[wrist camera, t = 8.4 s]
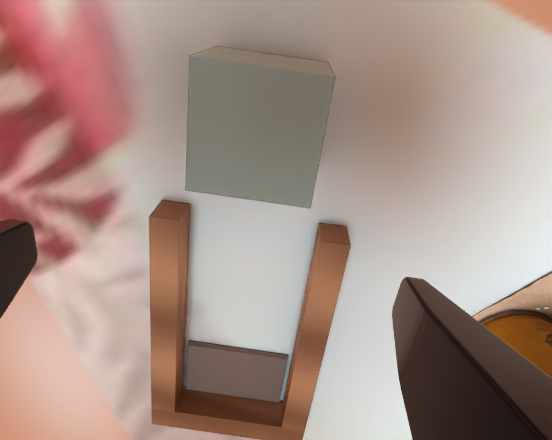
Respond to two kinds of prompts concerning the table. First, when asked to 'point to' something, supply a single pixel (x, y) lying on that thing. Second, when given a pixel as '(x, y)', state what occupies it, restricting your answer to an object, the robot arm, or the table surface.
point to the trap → (235, 371)
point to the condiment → (525, 322)
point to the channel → (171, 338)
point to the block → (256, 124)
